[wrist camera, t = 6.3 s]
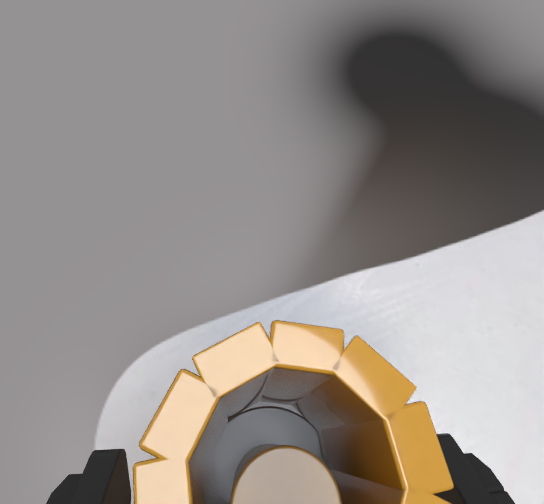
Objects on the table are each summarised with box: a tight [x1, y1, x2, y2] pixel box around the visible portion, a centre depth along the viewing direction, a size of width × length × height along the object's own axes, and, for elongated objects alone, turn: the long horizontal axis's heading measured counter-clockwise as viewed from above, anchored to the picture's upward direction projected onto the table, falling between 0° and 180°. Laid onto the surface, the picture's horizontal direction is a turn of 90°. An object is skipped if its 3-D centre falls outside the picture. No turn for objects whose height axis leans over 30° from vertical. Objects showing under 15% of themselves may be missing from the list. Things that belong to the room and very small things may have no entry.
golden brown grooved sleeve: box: [133, 320, 454, 504], centre depth 11 cm, size 6×6×8 cm
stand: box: [214, 401, 342, 504], centre depth 18 cm, size 8×8×22 cm
